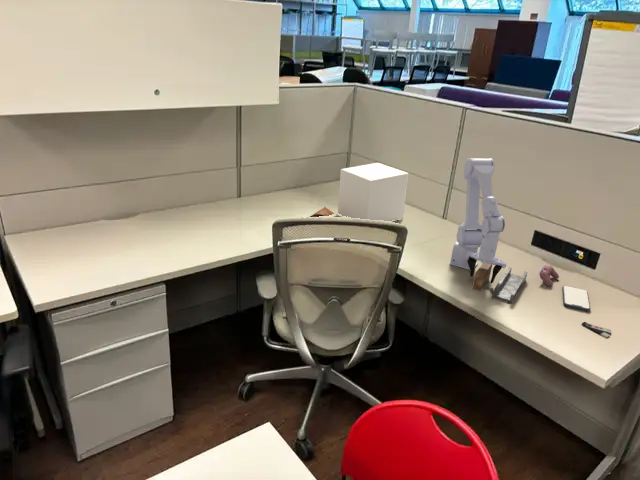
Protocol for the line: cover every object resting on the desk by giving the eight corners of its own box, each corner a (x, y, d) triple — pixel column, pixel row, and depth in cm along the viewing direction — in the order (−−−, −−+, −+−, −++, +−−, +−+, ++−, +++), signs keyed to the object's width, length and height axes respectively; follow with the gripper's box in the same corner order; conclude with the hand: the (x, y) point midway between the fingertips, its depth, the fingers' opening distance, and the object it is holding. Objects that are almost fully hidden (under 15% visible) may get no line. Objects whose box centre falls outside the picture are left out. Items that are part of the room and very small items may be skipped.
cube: (373, 207, 261) (378, 162, 251) (402, 220, 245) (408, 173, 235) (337, 216, 246) (340, 169, 236) (366, 230, 231) (370, 180, 221)
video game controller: (548, 279, 197) (543, 262, 196) (560, 278, 193) (555, 261, 193) (540, 288, 189) (536, 271, 189) (552, 287, 186) (548, 270, 186)
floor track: (492, 297, 178) (494, 289, 177) (507, 274, 195) (509, 267, 194) (511, 303, 175) (514, 295, 173) (525, 280, 192) (527, 272, 190)
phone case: (561, 288, 188) (562, 307, 175) (562, 284, 188) (563, 303, 174) (586, 293, 185) (590, 313, 172) (587, 290, 185) (591, 309, 171)
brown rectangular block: (472, 288, 183) (475, 272, 181) (481, 276, 193) (484, 260, 190) (480, 291, 182) (483, 274, 179) (489, 279, 191) (492, 263, 188)
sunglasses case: (323, 226, 232) (317, 213, 231) (311, 230, 236) (305, 218, 235) (338, 214, 247) (332, 202, 246) (327, 219, 251) (321, 207, 250)
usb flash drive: (580, 325, 164) (581, 323, 164) (589, 321, 167) (590, 319, 166) (605, 339, 158) (606, 336, 157) (614, 334, 160) (615, 331, 160)
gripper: (465, 245, 181) (459, 277, 187) (505, 256, 174) (498, 289, 180) (471, 239, 187) (465, 270, 192) (510, 249, 180) (503, 281, 185)
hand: (481, 279), depth 187 cm, fingers open, 7 cm apart
